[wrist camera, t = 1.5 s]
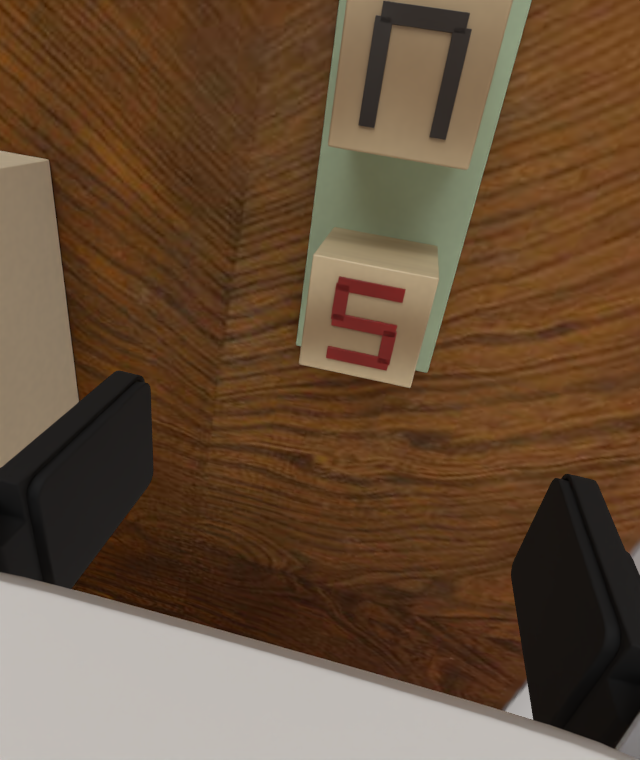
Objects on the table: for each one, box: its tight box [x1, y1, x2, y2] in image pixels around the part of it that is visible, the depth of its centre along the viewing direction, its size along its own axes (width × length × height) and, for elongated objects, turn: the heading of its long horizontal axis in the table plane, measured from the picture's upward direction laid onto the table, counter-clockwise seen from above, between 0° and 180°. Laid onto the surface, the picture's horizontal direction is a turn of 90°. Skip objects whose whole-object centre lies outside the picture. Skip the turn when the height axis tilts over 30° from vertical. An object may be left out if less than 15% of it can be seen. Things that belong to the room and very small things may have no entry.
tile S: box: [299, 227, 439, 388], centre depth 21 cm, size 4×4×5 cm
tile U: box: [328, 0, 513, 170], centre depth 17 cm, size 4×4×5 cm
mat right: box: [296, 0, 532, 373], centre depth 21 cm, size 16×6×1 cm, turn 172°
